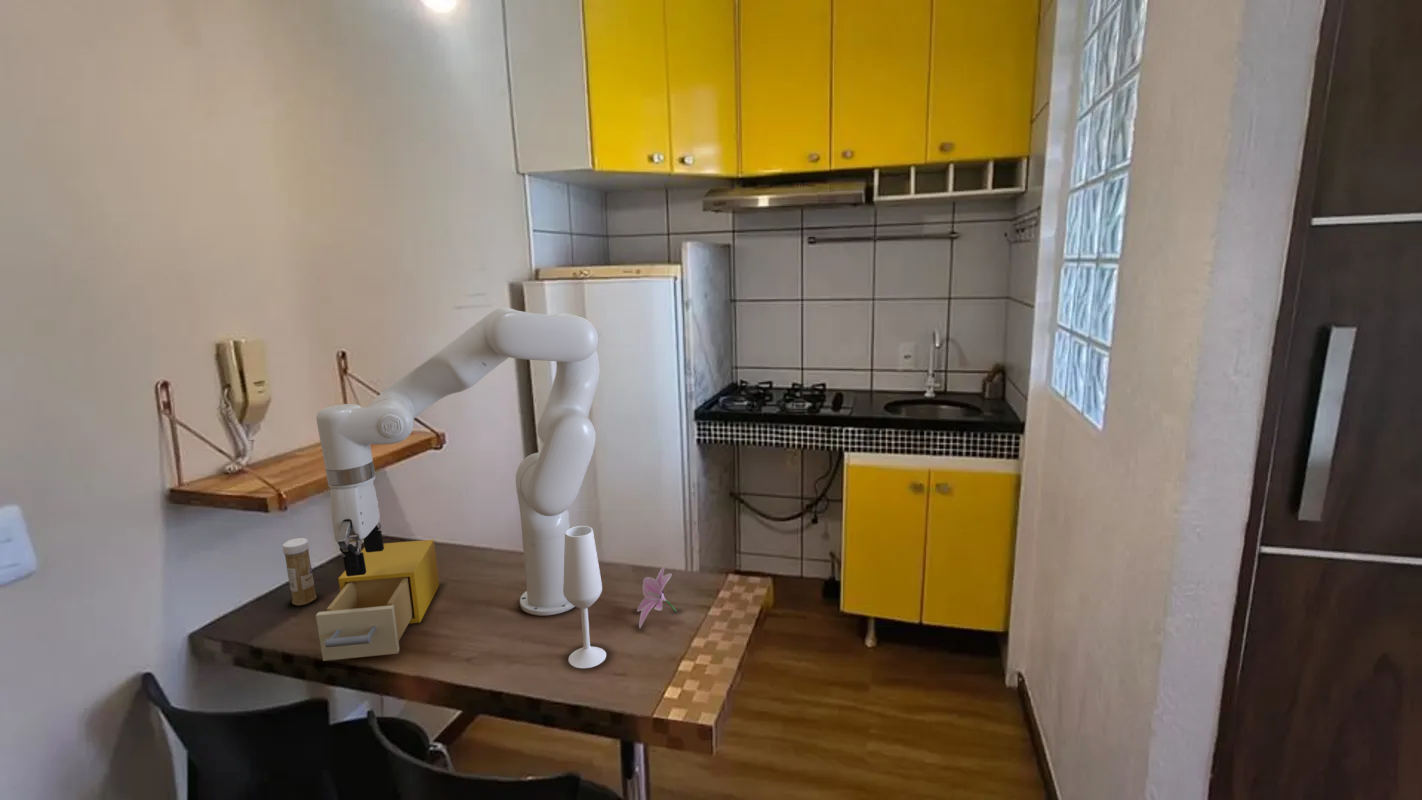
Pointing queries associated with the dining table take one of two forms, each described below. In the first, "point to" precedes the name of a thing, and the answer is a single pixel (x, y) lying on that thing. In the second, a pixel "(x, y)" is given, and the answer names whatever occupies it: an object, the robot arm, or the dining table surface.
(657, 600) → the lily
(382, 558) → the cabinet
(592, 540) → the champagne flute
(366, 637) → the drawer
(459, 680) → the dining table surface
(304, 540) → the sprinkles bottle
